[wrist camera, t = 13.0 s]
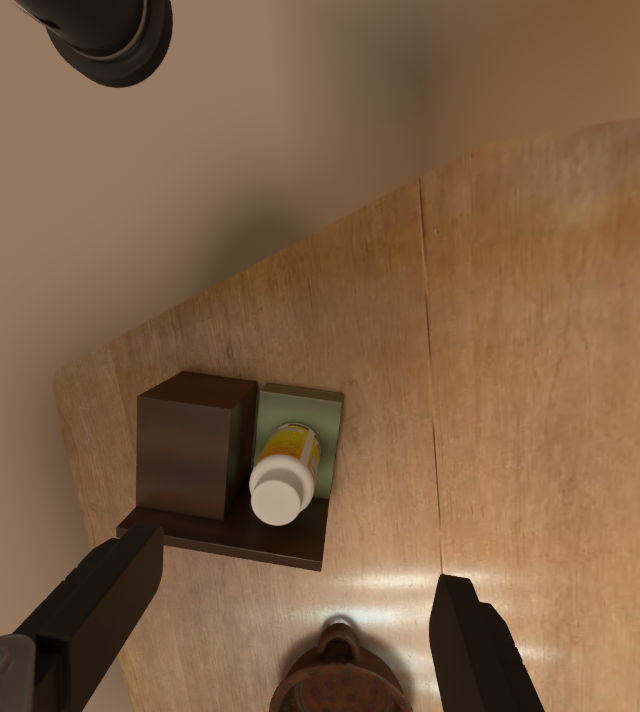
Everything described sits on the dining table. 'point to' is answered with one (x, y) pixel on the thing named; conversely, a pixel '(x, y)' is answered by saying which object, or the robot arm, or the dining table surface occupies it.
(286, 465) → the supplement bottle
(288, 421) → the shelf
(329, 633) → the dish
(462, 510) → the dining table surface
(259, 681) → the dining table surface
